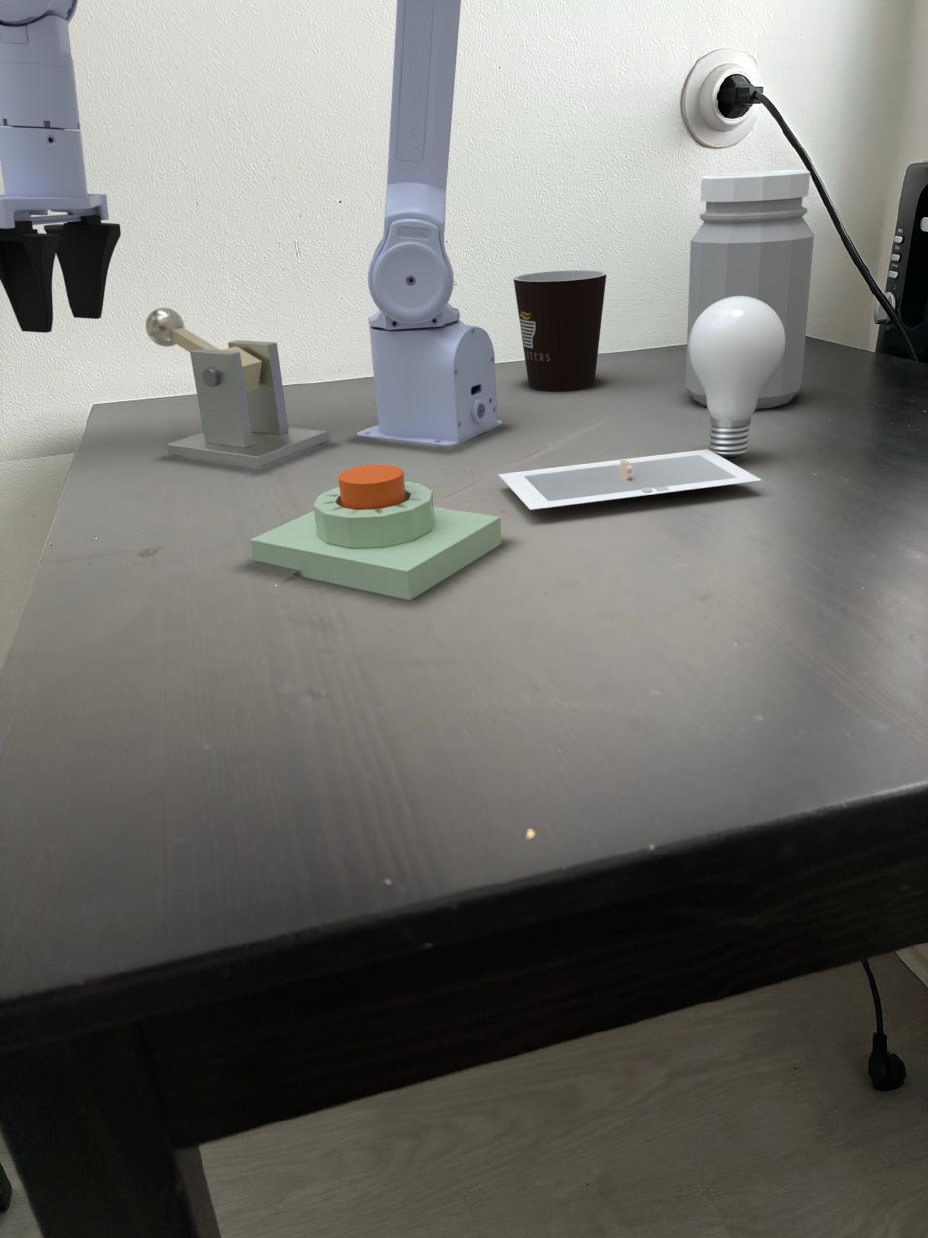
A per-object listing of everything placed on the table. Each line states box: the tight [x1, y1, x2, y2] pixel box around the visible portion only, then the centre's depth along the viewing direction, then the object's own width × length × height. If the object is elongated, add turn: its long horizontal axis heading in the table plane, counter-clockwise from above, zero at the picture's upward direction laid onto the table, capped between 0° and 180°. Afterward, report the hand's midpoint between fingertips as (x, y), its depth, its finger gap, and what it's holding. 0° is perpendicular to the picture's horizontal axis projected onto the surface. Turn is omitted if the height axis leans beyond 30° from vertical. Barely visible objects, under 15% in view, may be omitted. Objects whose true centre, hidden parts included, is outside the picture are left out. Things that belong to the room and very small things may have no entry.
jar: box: [685, 169, 815, 410], centre depth 83 cm, size 10×10×18 cm
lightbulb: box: [688, 296, 786, 461], centre depth 68 cm, size 6×6×11 cm
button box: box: [250, 480, 502, 601], centre depth 56 cm, size 11×9×4 cm
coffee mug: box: [513, 269, 607, 392], centre depth 96 cm, size 12×9×10 cm
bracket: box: [166, 339, 330, 468], centre depth 78 cm, size 10×8×8 cm
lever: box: [145, 307, 262, 392], centre depth 78 cm, size 11×3×3 cm, turn 57°
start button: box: [338, 464, 406, 510], centre depth 55 cm, size 4×4×2 cm
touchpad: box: [498, 448, 763, 511], centre depth 64 cm, size 8×15×2 cm, turn 102°
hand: (63, 324), depth 77 cm, fingers open, 7 cm apart
